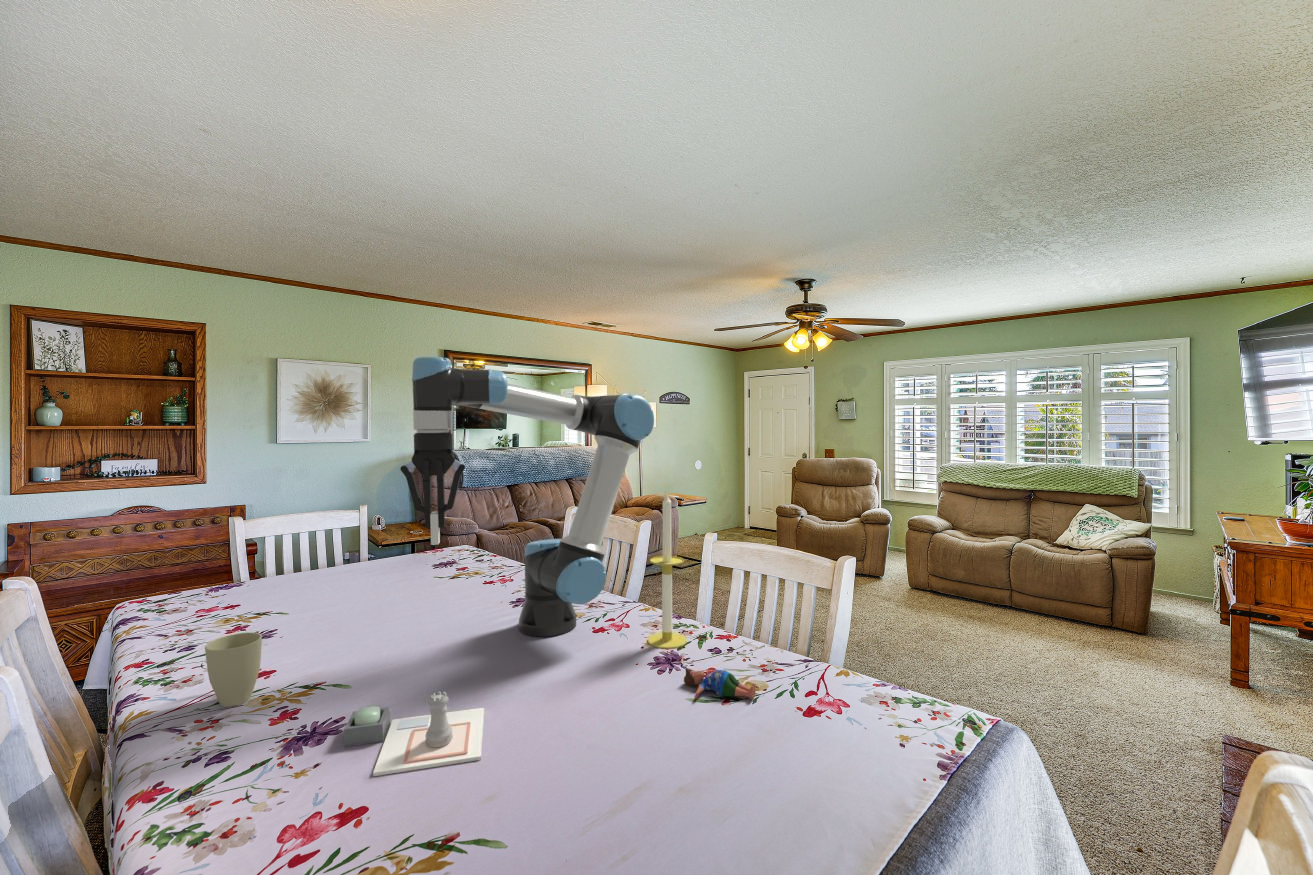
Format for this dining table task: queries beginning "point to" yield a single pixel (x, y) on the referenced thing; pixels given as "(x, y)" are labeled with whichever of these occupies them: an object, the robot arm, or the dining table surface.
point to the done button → (367, 716)
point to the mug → (234, 666)
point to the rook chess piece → (438, 722)
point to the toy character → (718, 683)
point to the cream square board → (413, 753)
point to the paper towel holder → (667, 587)
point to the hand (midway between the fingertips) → (435, 543)
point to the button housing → (366, 730)
